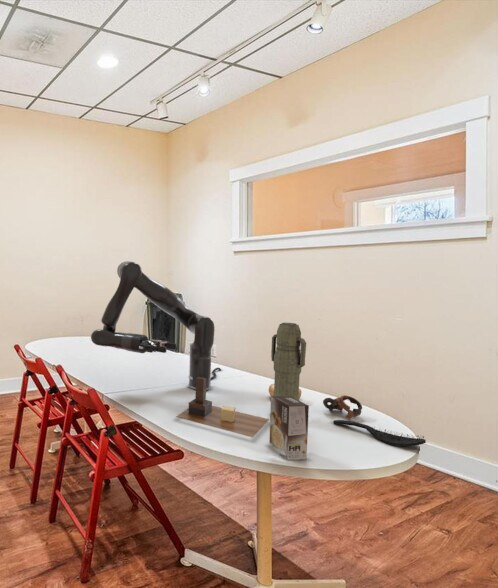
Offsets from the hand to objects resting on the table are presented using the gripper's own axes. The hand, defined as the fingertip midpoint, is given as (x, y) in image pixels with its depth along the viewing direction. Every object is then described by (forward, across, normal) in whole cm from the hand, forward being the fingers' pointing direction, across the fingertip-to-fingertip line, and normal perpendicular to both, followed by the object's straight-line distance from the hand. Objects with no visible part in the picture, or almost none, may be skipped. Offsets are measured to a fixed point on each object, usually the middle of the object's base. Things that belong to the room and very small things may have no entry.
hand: (171, 348), depth 155 cm
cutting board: (+20, 0, +24) cm, 31 cm away
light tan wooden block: (+22, 0, +22) cm, 32 cm away
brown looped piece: (+51, +37, +24) cm, 68 cm away
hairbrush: (+62, +22, +24) cm, 70 cm away
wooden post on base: (+12, 0, +22) cm, 26 cm away
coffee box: (+43, -11, +24) cm, 51 cm away
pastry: (+31, +42, +24) cm, 58 cm away
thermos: (+36, +20, +24) cm, 48 cm away
